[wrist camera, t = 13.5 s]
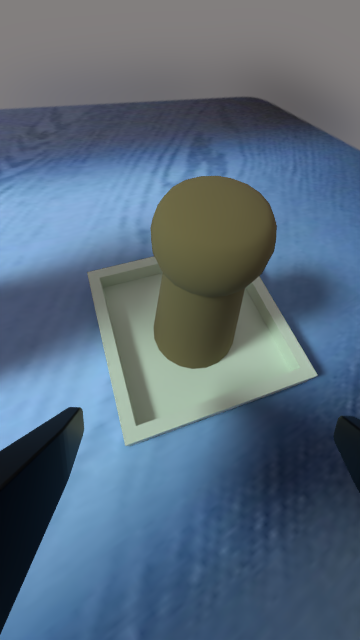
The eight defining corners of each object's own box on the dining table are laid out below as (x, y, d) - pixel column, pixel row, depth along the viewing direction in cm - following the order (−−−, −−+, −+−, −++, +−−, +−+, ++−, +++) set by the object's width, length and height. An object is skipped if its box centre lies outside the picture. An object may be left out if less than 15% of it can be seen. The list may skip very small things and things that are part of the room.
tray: (304, 382, 18) (317, 375, 16) (129, 446, 16) (125, 445, 14) (231, 251, 23) (236, 237, 22) (93, 285, 21) (87, 272, 20)
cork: (203, 283, 21) (232, 137, 11) (250, 341, 19) (337, 222, 9) (138, 317, 19) (107, 181, 10) (181, 385, 17) (197, 297, 7)
